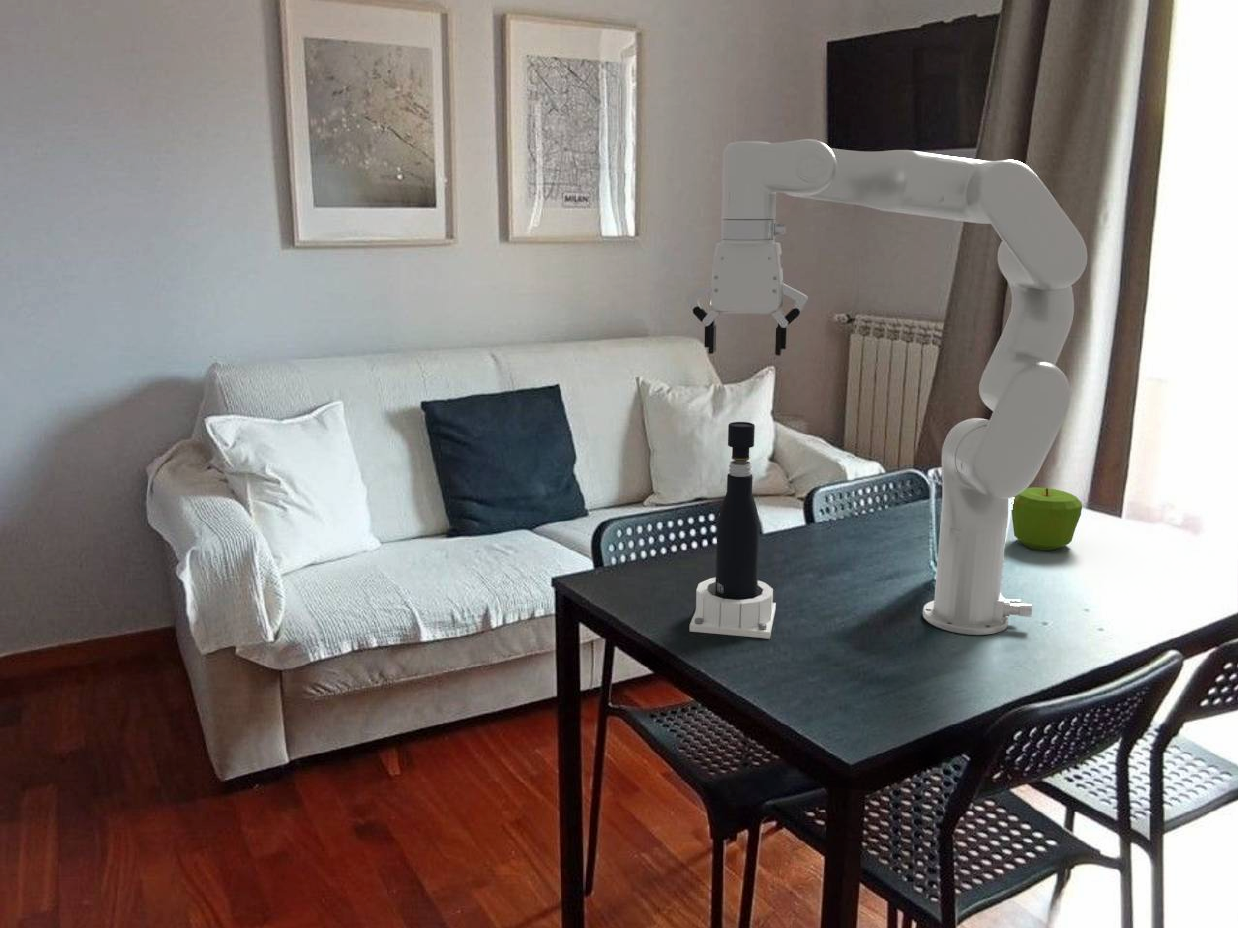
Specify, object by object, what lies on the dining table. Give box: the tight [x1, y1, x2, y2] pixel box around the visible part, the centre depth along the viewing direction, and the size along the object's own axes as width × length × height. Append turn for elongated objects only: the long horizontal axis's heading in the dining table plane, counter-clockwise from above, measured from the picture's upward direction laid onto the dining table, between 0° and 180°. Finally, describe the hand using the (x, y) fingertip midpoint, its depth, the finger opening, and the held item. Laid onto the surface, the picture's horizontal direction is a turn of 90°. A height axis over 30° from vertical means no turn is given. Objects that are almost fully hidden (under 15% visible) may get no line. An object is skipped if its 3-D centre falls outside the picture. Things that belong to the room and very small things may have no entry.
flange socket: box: [689, 577, 777, 640], centre depth 159 cm, size 12×12×5 cm
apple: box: [1011, 486, 1083, 551], centre depth 195 cm, size 12×12×11 cm
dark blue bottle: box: [715, 421, 761, 600], centre depth 156 cm, size 6×6×30 cm
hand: (745, 353), depth 150 cm, fingers open, 9 cm apart
